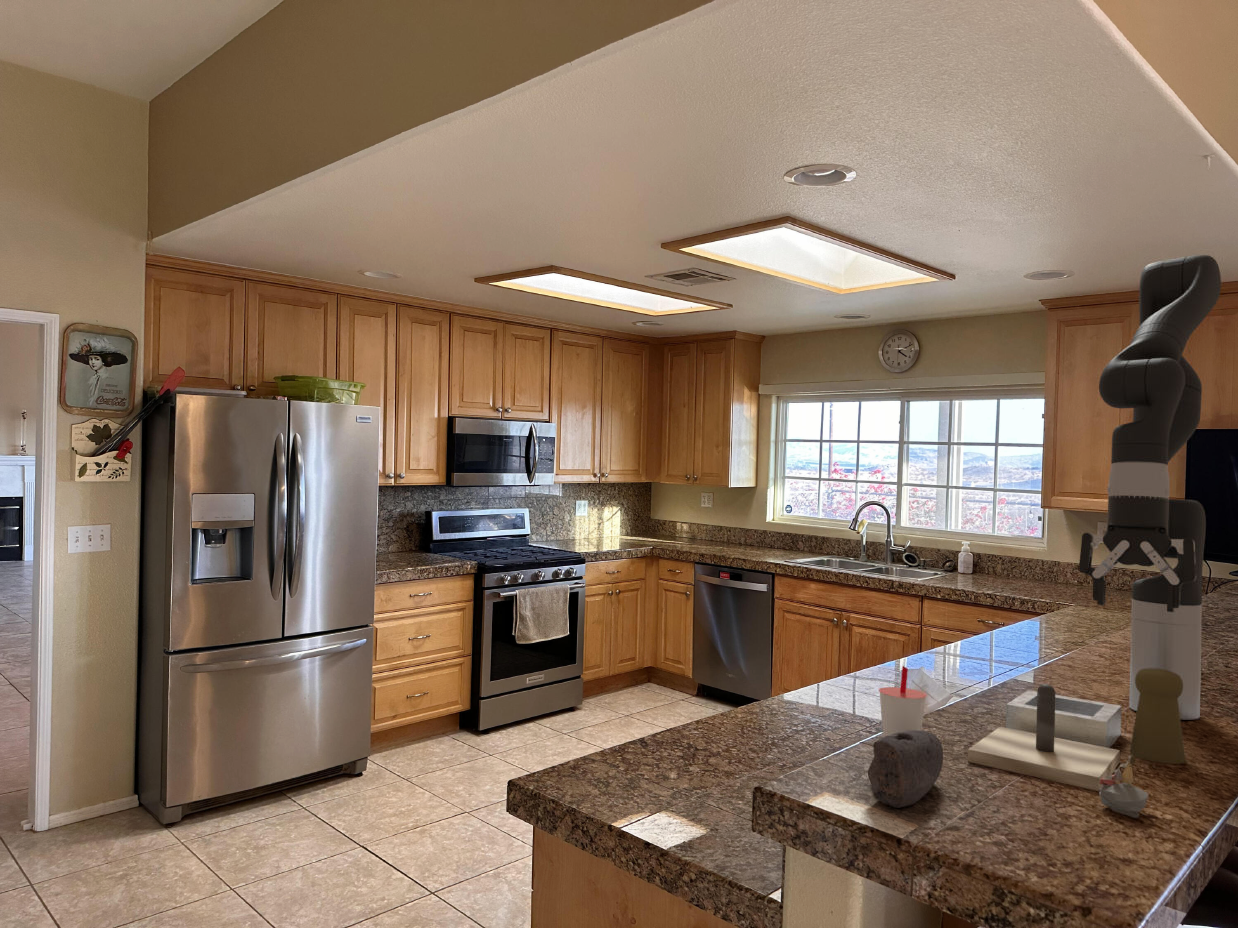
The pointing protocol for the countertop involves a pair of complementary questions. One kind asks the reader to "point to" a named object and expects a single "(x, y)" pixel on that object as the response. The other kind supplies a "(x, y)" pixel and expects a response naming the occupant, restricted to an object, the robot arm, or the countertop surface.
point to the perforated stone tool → (905, 767)
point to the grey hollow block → (1069, 719)
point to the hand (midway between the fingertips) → (1134, 608)
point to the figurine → (1123, 792)
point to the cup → (901, 707)
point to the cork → (1158, 717)
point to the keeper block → (1045, 751)
